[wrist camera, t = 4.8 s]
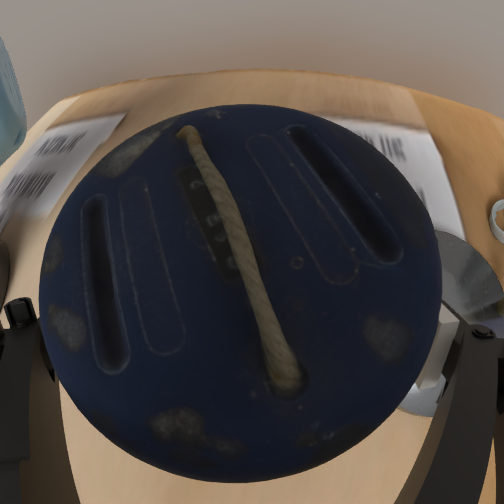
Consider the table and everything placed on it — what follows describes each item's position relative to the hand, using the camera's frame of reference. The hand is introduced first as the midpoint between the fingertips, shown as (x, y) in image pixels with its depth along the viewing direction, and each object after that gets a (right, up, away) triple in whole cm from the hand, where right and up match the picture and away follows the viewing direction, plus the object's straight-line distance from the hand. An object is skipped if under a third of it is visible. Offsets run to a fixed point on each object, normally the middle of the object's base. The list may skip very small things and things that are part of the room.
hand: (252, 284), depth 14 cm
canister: (0, -6, +6) cm, 9 cm away
